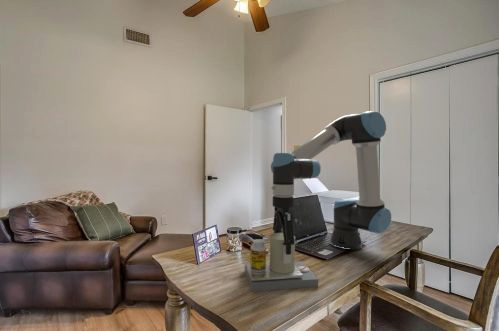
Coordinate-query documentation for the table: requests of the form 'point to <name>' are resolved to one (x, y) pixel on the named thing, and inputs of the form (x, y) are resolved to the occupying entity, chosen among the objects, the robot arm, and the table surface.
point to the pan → (271, 273)
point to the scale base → (285, 280)
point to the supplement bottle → (258, 256)
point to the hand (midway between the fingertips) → (282, 256)
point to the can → (280, 254)
